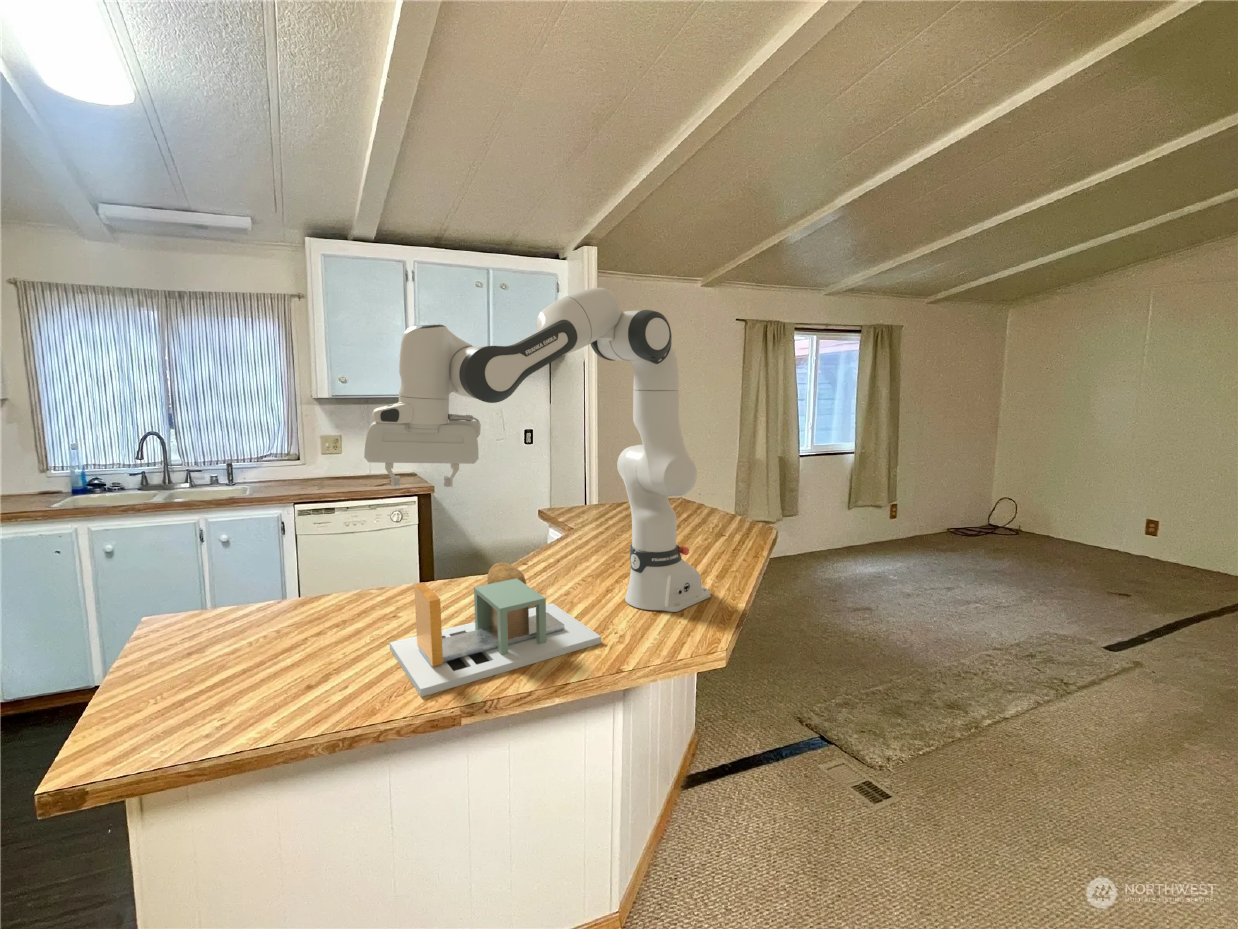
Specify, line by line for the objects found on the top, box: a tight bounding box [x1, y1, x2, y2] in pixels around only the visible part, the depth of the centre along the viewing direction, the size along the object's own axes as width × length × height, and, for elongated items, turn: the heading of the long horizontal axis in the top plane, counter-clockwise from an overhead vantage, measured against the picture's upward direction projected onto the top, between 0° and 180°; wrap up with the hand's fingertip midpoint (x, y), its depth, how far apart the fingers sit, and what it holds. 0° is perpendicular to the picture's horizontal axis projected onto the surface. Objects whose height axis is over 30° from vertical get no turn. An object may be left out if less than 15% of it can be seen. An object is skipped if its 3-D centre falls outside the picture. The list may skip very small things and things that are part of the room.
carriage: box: [413, 582, 565, 667], centre depth 123 cm, size 29×10×13 cm, turn 124°
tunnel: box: [473, 578, 547, 655], centre depth 125 cm, size 10×14×10 cm
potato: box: [486, 562, 527, 585], centre depth 151 cm, size 10×14×8 cm
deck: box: [389, 603, 602, 698], centre depth 125 cm, size 38×22×2 cm, turn 124°
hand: (422, 486), depth 112 cm, fingers open, 8 cm apart
